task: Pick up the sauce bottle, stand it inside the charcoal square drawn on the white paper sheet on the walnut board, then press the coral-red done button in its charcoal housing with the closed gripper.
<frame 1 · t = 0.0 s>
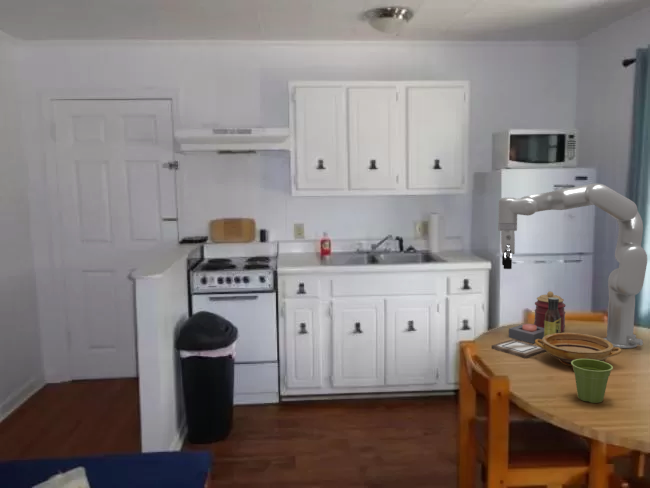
hand: (506, 266, 234), 31 cm above the table, tool pointing down, fingers open, 9 cm apart
button housing: (529, 337, 238), on the table
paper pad: (519, 349, 222), on the table
canister: (549, 330, 250), on the table
done button: (529, 328, 237), point 4 cm above the table, slide at 0.0 cm
plant pot: (590, 399, 174), on the table
ceramic bowl: (576, 362, 207), on the table
sauce bottle: (551, 346, 227), on the table
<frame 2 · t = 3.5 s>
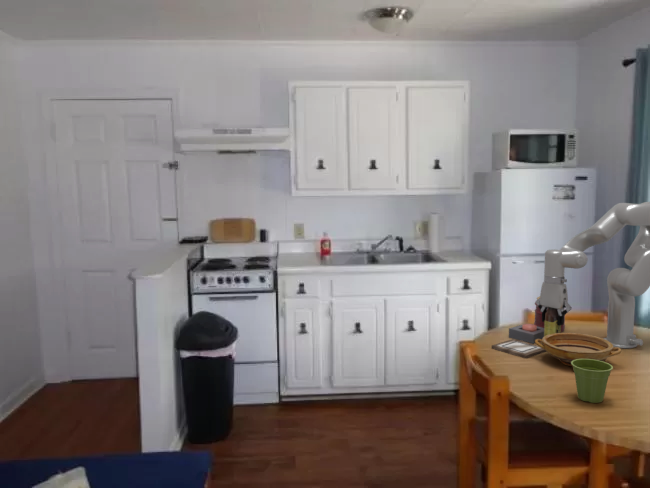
hand: (552, 322, 225), 10 cm above the table, tool pointing down, fingers closed on sauce bottle, 6 cm apart
sauce bottle: (551, 346, 227), on the table, touching gripper
everything else where it was.
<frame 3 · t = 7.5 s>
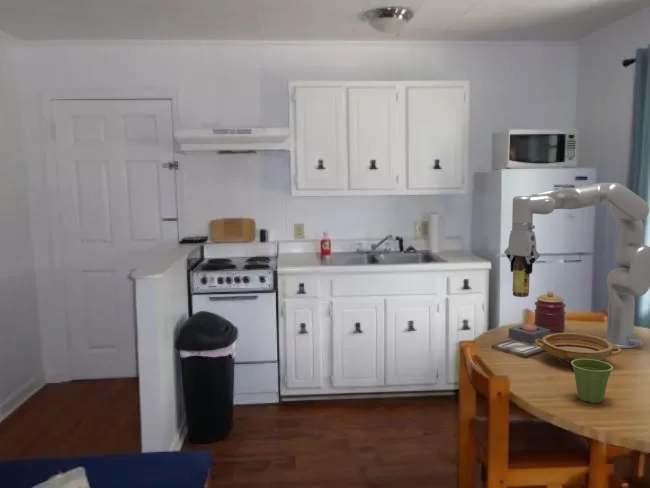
hand: (521, 272, 218), 32 cm above the table, tool pointing down, fingers closed on sauce bottle, 6 cm apart
sauce bottle: (520, 296, 219), point 22 cm above the table, touching gripper
everything else where it was.
when the fingers open (12 cm above the table, at t = 11.5 s): sauce bottle drops 1 cm, resting on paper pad.
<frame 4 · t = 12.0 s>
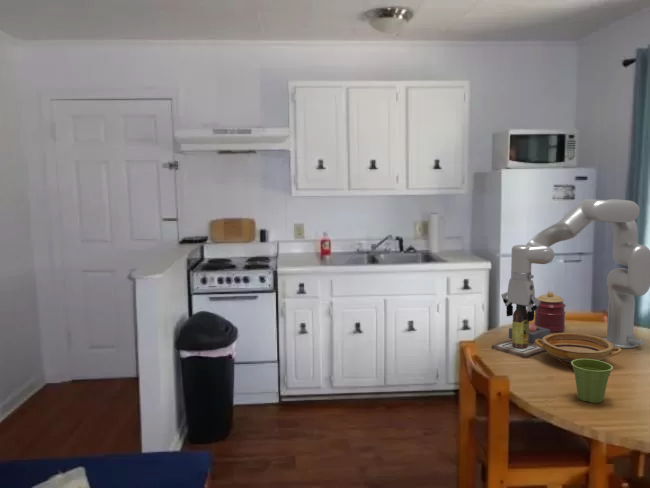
hand: (519, 318, 221), 13 cm above the table, tool pointing down, fingers open, 9 cm apart
sauce bottle: (520, 347, 222), point 1 cm above the table, touching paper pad
everything else where it was.
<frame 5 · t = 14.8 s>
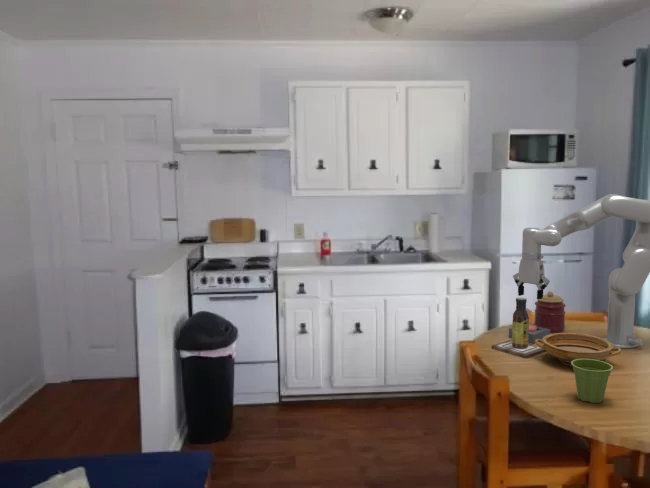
hand: (530, 296, 235), 18 cm above the table, tool pointing down, fingers open, 8 cm apart
nothing on the table moved.
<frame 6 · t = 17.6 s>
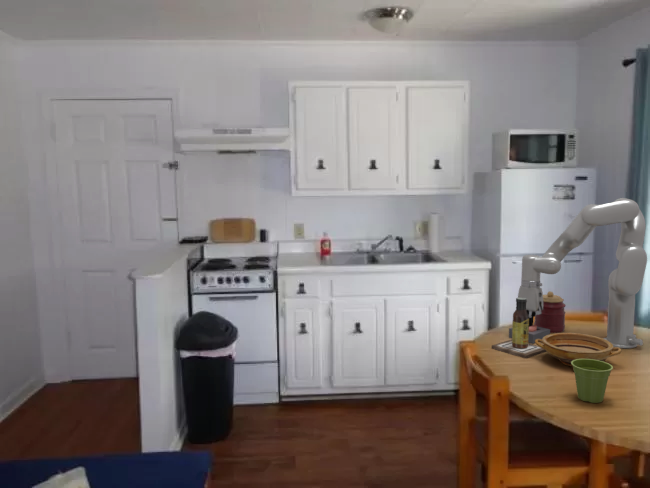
hand: (528, 325, 237), 5 cm above the table, tool pointing down, fingers closed
done button: (529, 329, 237), point 4 cm above the table, slide at 0.1 cm, touching gripper
everything else where it was.
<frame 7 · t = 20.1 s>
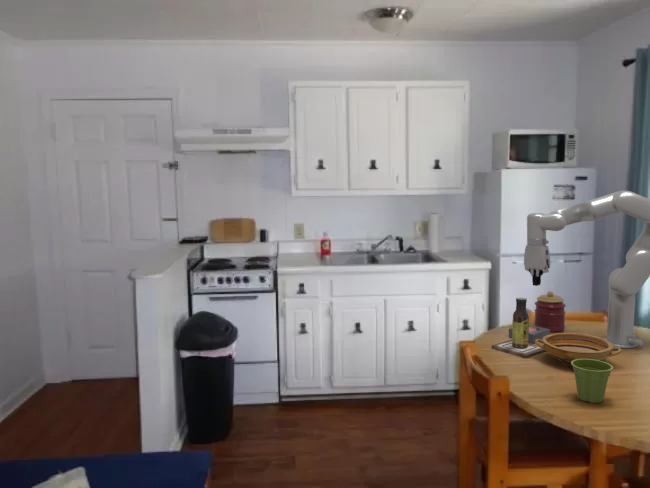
hand: (536, 285, 235), 23 cm above the table, tool pointing down, fingers closed
done button: (529, 332, 237), point 3 cm above the table, slide at 1.4 cm
everything else where it was.
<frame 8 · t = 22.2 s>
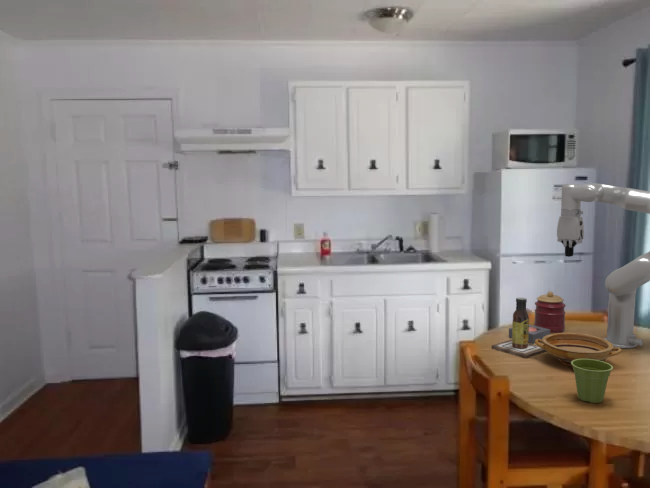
hand: (569, 256, 235), 35 cm above the table, tool pointing down, fingers closed
nothing on the table moved.
at the end: sauce bottle 0.3 cm off-centre on the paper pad, point 1.1 cm above the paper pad's base; sauce bottle tilted 0°; done button slide at 1.4 cm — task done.
